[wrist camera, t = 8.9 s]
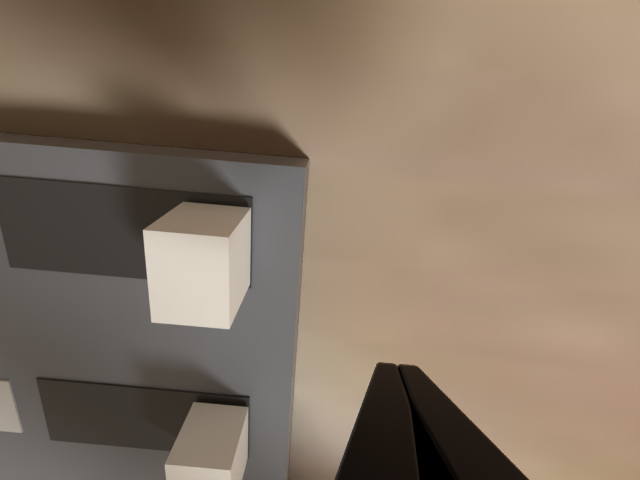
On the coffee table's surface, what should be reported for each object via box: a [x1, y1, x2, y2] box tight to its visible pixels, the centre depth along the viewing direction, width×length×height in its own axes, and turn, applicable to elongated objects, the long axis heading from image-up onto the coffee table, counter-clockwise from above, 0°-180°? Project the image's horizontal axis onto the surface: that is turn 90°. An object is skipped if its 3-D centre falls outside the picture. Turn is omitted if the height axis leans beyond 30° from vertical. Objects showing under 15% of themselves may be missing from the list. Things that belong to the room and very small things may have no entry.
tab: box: [143, 202, 251, 329], centre depth 13 cm, size 3×2×3 cm
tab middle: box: [165, 402, 248, 480], centre depth 16 cm, size 3×2×3 cm
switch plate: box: [0, 133, 309, 480], centre depth 18 cm, size 24×16×2 cm, turn 176°
